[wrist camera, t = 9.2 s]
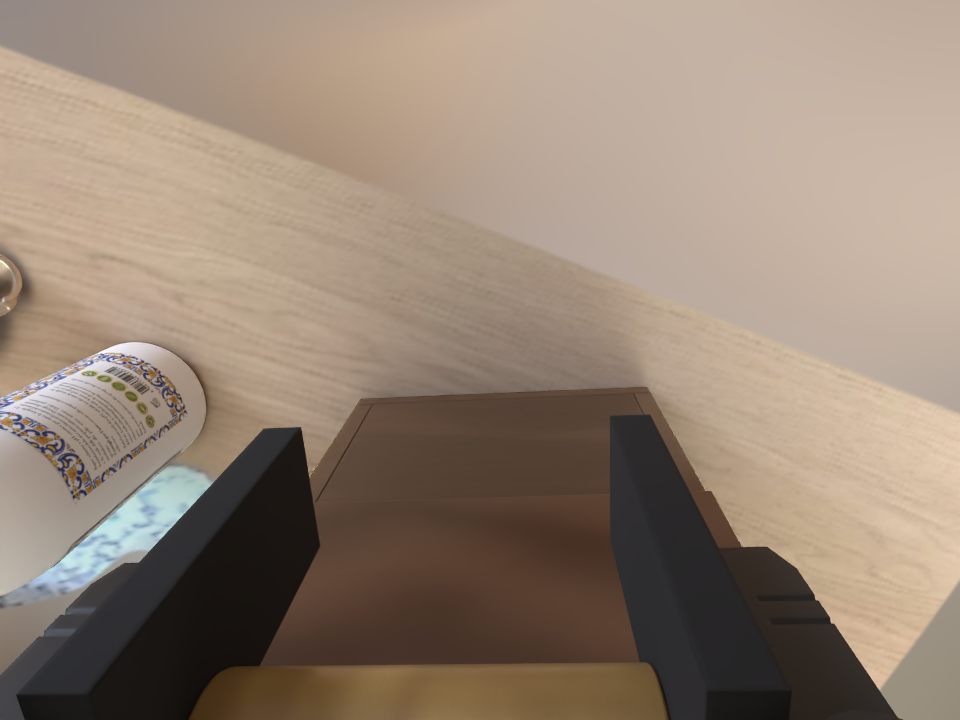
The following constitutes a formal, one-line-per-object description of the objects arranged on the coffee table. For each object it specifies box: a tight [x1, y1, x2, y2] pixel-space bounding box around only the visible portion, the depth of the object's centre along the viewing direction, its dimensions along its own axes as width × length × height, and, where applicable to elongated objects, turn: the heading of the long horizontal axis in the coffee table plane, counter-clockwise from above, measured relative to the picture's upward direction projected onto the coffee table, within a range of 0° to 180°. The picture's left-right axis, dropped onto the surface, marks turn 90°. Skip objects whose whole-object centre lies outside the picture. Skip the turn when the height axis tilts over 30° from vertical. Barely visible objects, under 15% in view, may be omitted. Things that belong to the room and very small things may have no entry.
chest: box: [310, 387, 705, 503], centre depth 32 cm, size 16×16×11 cm
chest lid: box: [188, 491, 741, 720], centre depth 15 cm, size 17×16×7 cm
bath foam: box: [0, 342, 206, 596], centre depth 27 cm, size 7×7×20 cm
